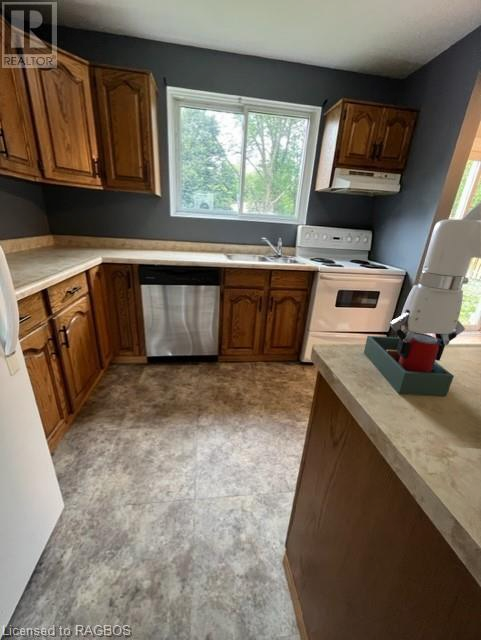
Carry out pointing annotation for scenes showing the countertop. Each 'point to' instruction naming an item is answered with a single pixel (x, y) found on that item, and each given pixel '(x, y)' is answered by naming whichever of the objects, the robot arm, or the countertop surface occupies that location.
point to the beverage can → (421, 354)
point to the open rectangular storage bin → (403, 381)
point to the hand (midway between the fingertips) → (417, 356)
